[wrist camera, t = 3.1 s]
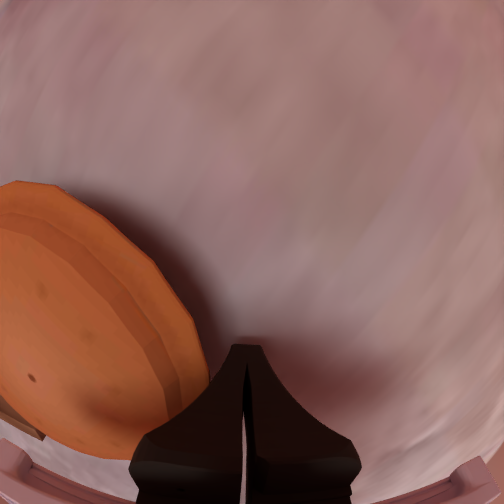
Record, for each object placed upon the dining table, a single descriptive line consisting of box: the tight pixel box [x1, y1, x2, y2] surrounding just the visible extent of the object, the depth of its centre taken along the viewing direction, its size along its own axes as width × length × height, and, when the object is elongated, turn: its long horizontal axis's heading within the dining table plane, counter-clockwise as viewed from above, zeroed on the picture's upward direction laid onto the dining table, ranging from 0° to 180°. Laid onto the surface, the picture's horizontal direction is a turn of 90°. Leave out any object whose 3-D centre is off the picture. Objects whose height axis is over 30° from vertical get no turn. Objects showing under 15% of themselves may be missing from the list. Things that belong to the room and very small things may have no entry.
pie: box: [0, 180, 210, 460], centre depth 11 cm, size 15×16×5 cm
